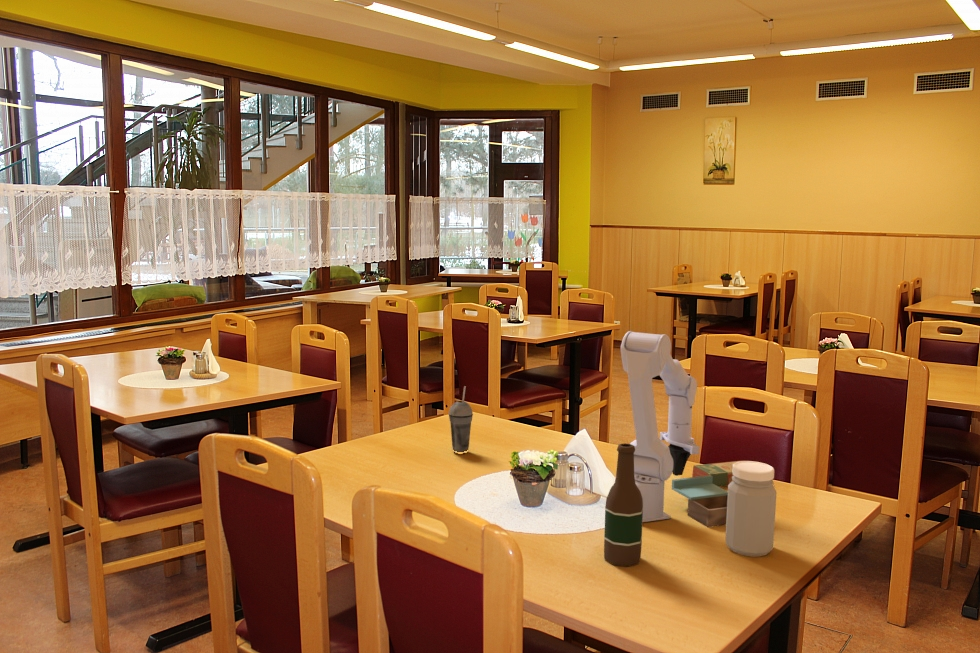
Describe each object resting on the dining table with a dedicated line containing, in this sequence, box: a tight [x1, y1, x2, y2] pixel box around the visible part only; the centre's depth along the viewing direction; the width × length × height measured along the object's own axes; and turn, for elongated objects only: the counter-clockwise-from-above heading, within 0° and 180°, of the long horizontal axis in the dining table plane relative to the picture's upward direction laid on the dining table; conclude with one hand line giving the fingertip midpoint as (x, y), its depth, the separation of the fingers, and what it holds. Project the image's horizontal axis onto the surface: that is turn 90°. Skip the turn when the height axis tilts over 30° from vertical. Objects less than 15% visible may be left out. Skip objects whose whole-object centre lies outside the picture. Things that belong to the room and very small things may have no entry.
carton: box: [691, 460, 741, 488], centre depth 212 cm, size 8×16×4 cm, turn 107°
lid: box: [671, 475, 728, 500], centre depth 190 cm, size 11×8×2 cm
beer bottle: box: [603, 443, 643, 568], centre depth 159 cm, size 8×8×24 cm
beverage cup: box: [448, 385, 474, 452], centre depth 234 cm, size 7×7×20 cm
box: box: [687, 495, 728, 528], centre depth 184 cm, size 11×8×4 cm
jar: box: [725, 460, 777, 558], centre depth 165 cm, size 10×10×18 cm
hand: (677, 474), depth 199 cm, fingers closed
